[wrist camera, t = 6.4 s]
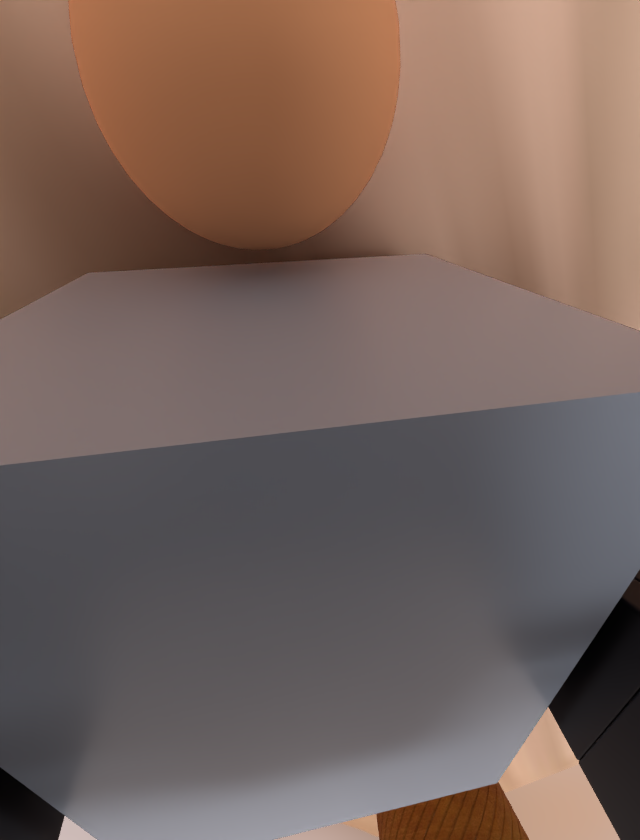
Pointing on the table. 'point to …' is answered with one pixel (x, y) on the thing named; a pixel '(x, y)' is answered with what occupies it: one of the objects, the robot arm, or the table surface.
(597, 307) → the table surface
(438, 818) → the disposable coffee cup
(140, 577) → the grey rectangular block
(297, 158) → the ball
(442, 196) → the table surface
